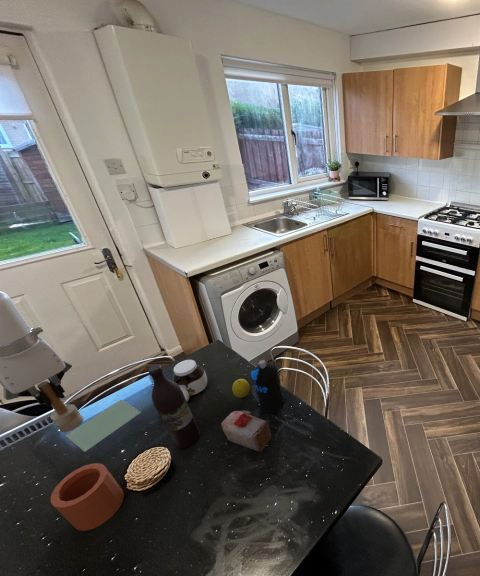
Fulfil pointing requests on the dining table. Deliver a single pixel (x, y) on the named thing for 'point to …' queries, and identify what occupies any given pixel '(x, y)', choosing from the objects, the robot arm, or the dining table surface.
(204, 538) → the dining table surface
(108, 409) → the mat
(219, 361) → the dining table surface
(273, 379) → the aerosol can
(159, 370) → the wine bottle
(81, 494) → the terracotta pot
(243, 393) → the lemon
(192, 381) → the spread jar
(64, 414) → the brush
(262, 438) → the food item
